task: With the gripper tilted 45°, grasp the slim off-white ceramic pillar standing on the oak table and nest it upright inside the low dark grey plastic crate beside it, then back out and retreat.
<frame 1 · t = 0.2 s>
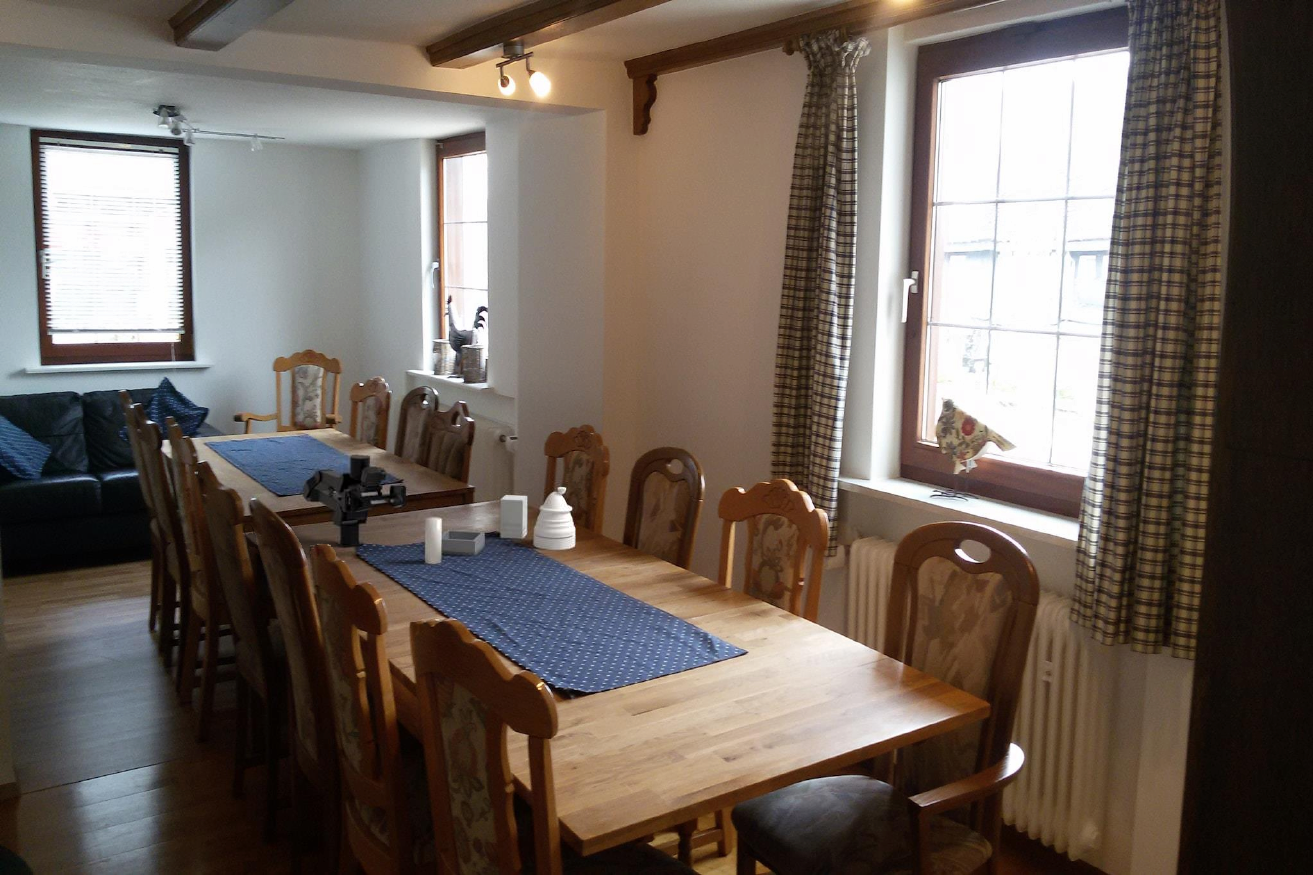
hand: (387, 504, 295), 17 cm above the table, tool horizontal, fingers open, 9 cm apart
honey pot: (554, 545, 326), on the table
supplement box: (513, 536, 335), on the table
grey crate: (460, 550, 315), on the table
ceramic pillar: (433, 561, 300), on the table
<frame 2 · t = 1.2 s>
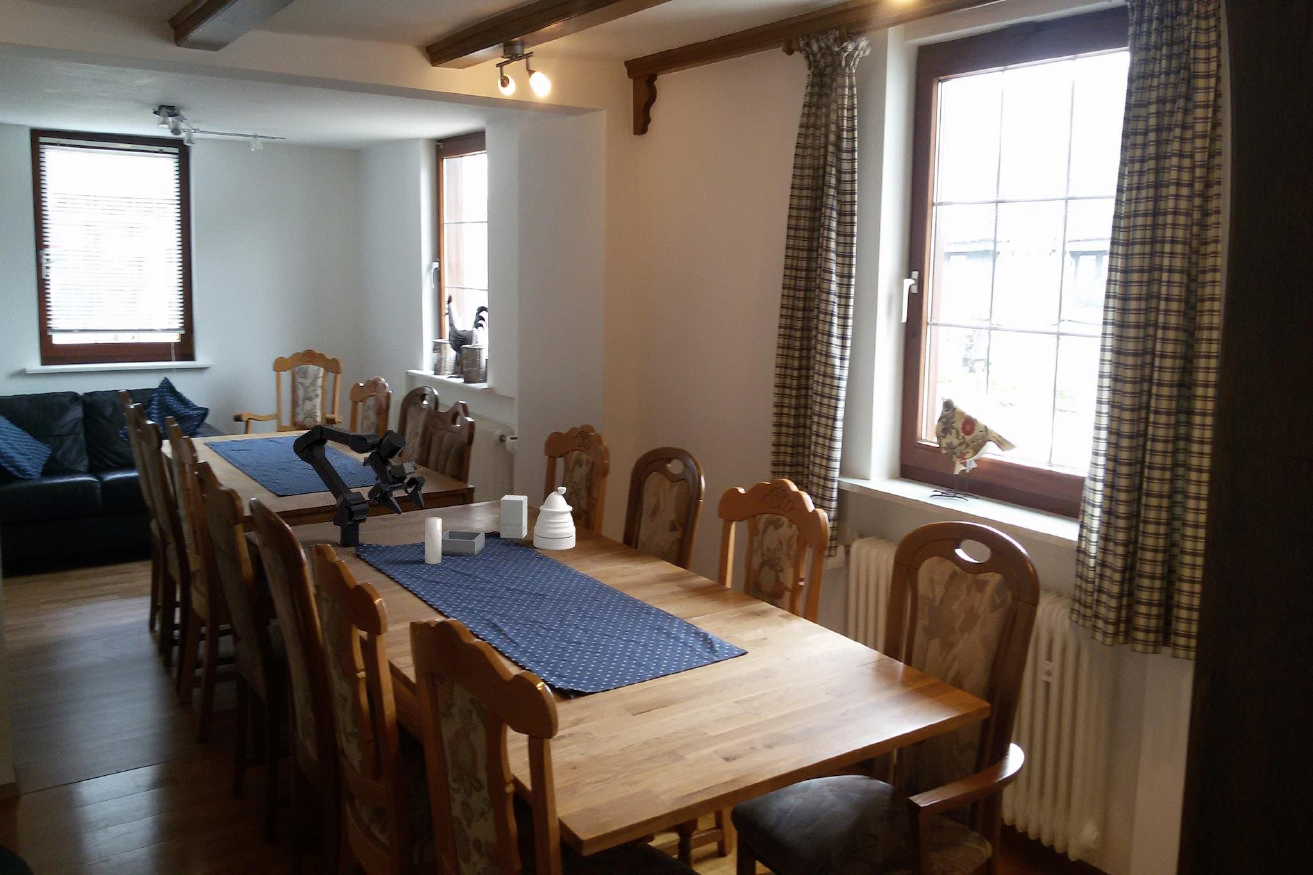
hand: (412, 511, 303), 14 cm above the table, tool tilted 45°, fingers open, 9 cm apart
nothing on the table moved.
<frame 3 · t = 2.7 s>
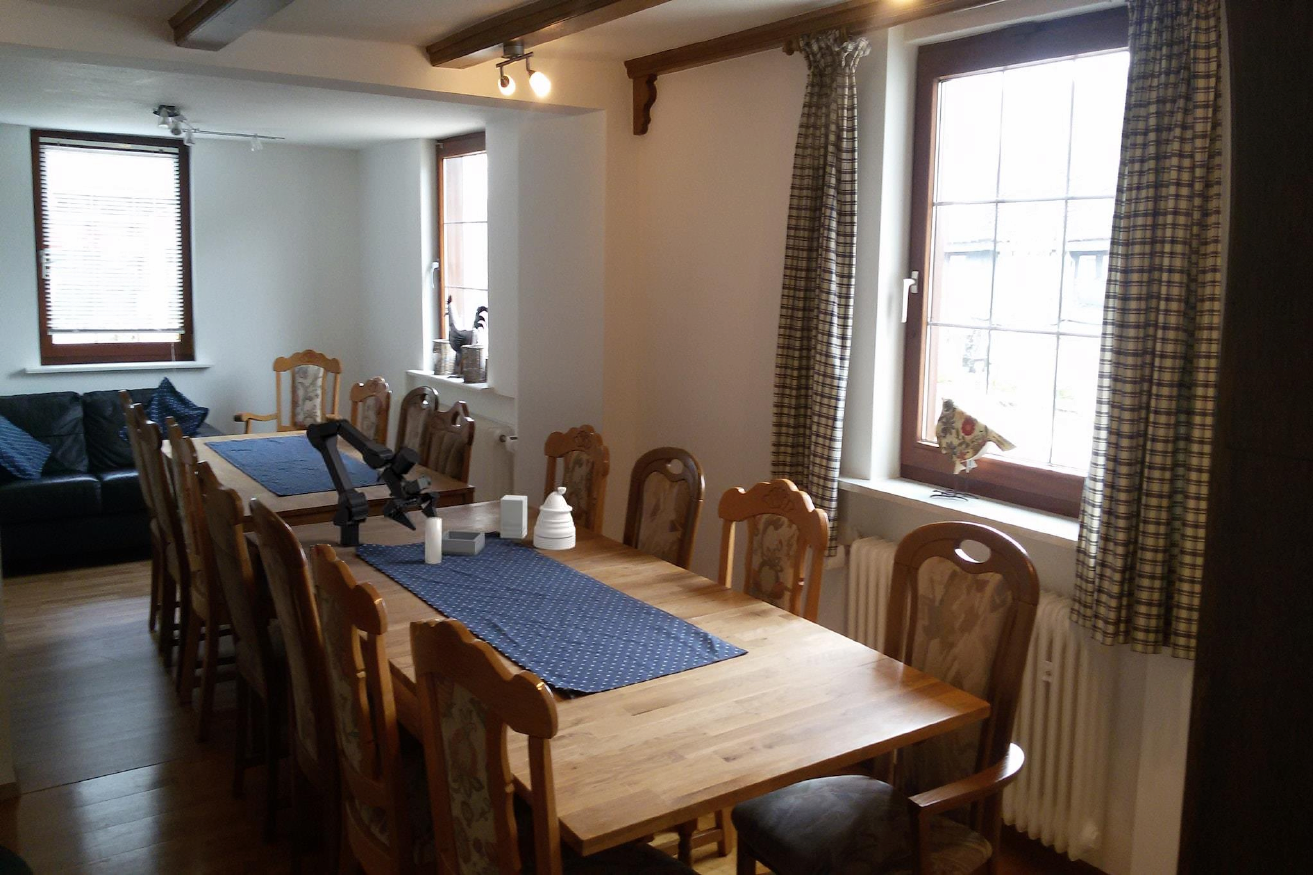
hand: (426, 527, 300), 10 cm above the table, tool tilted 45°, fingers open, 9 cm apart
nothing on the table moved.
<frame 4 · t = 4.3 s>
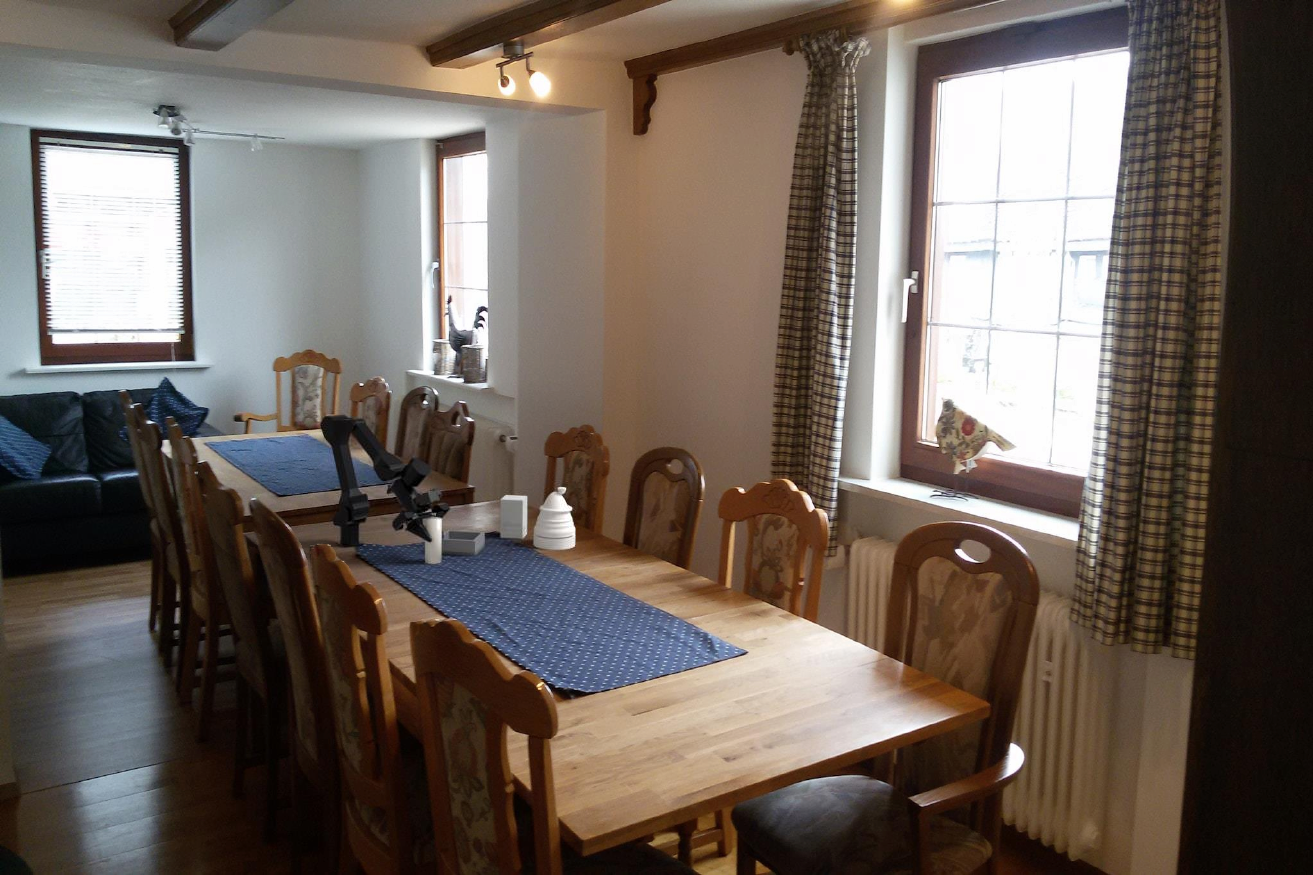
hand: (437, 540, 299), 7 cm above the table, tool tilted 45°, fingers closed on ceramic pillar, 5 cm apart
ceramic pillar: (433, 561, 300), on the table, touching gripper
everything else where it was.
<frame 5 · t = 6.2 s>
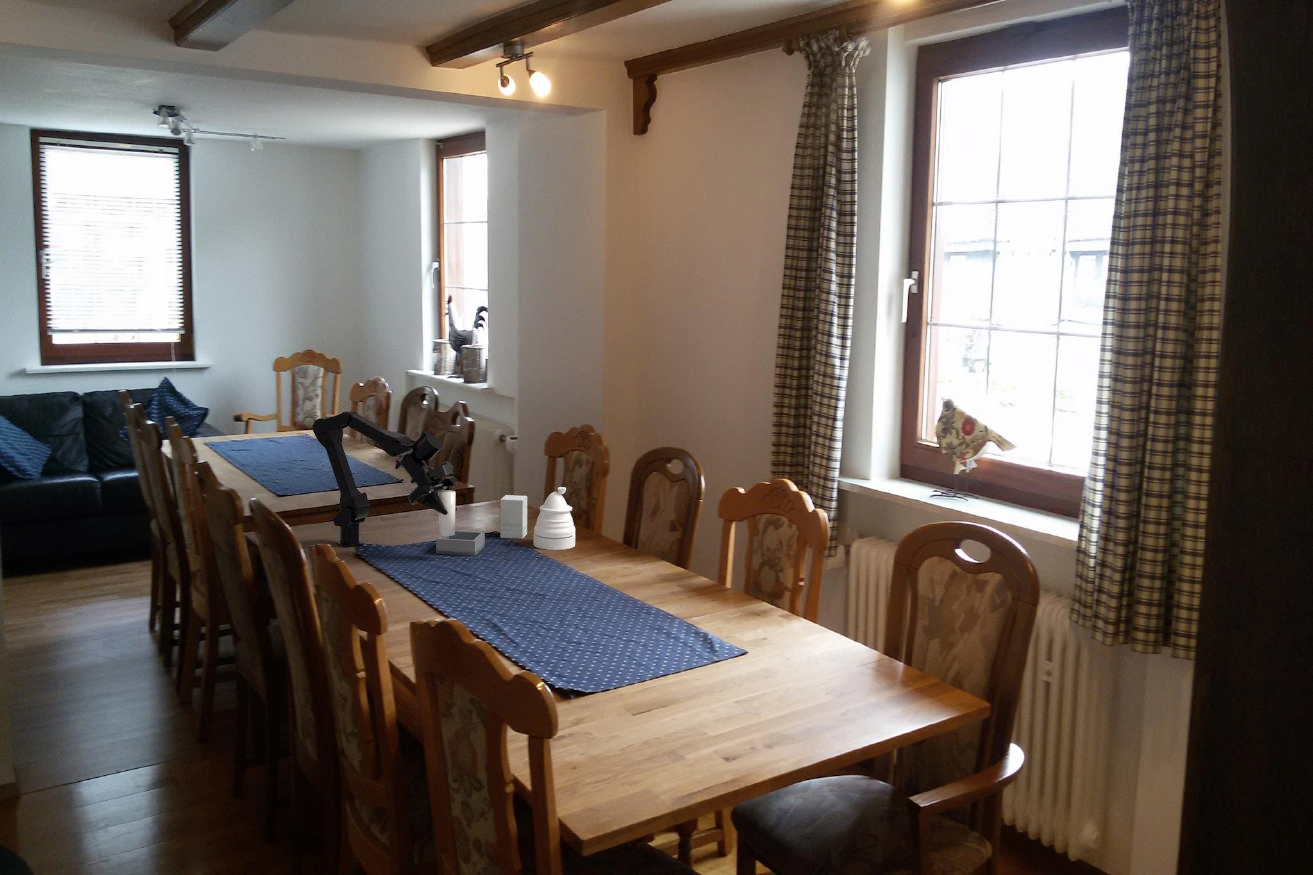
hand: (451, 512, 303), 13 cm above the table, tool tilted 45°, fingers closed on ceramic pillar, 5 cm apart
ceramic pillar: (446, 534, 305), point 7 cm above the table, touching gripper
everything else where it was.
when the fingers open (9 cm above the table, at t = 8.3 s): ceramic pillar drops 1 cm, resting on grey crate.
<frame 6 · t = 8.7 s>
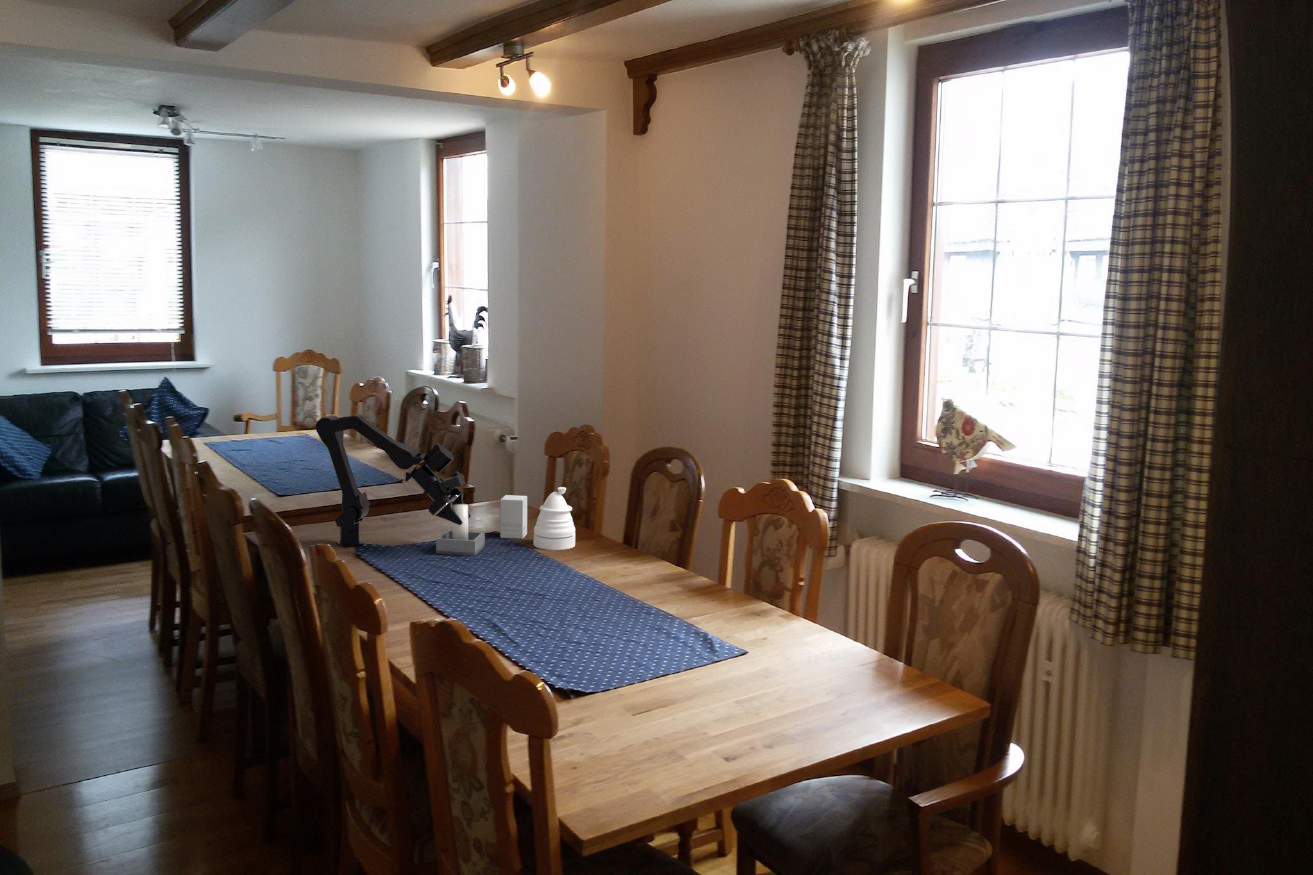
hand: (465, 520, 313), 9 cm above the table, tool tilted 45°, fingers open, 9 cm apart
ceramic pillar: (460, 546, 314), point 1 cm above the table, touching grey crate
everything else where it was.
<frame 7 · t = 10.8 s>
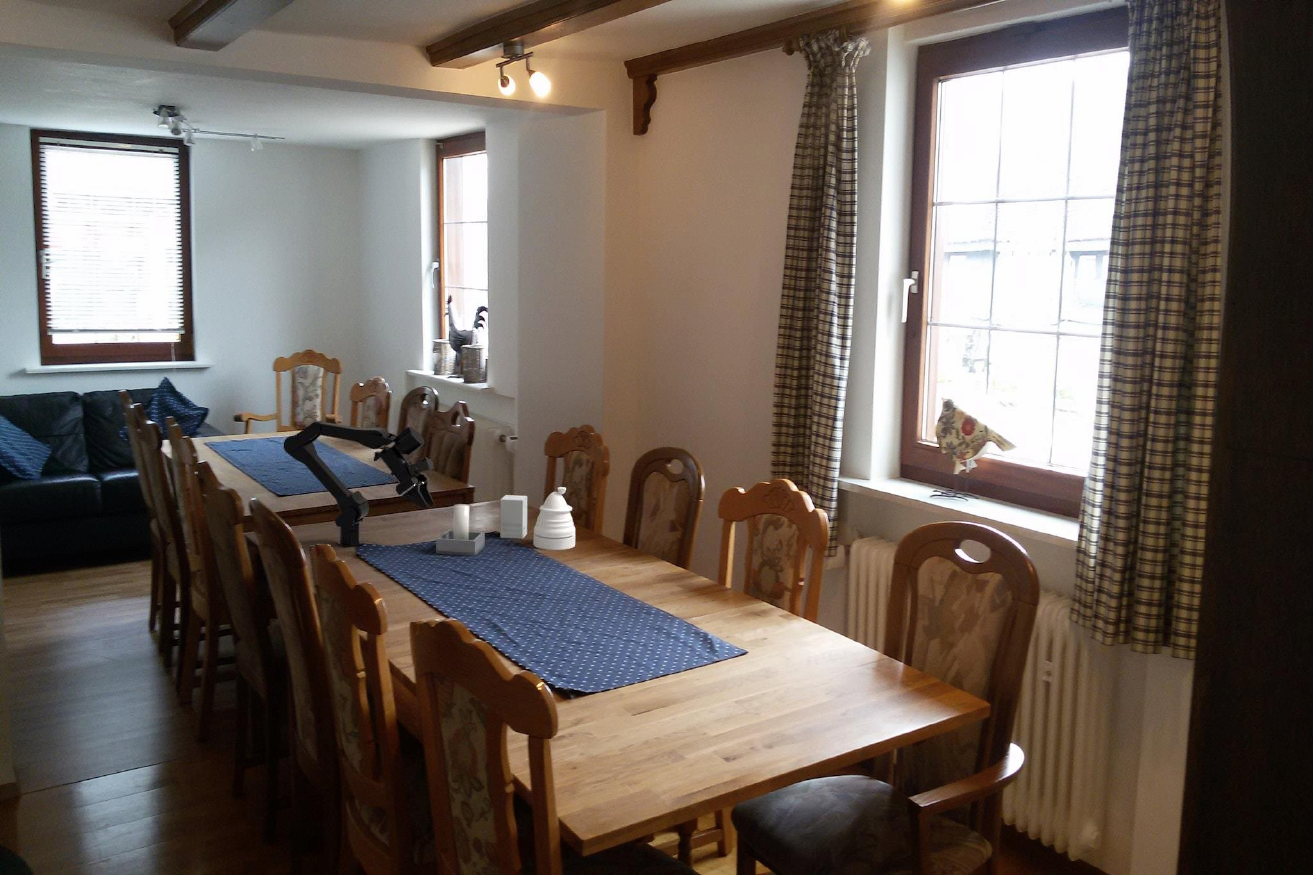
hand: (429, 506, 312), 13 cm above the table, tool tilted 40°, fingers open, 9 cm apart
nothing on the table moved.
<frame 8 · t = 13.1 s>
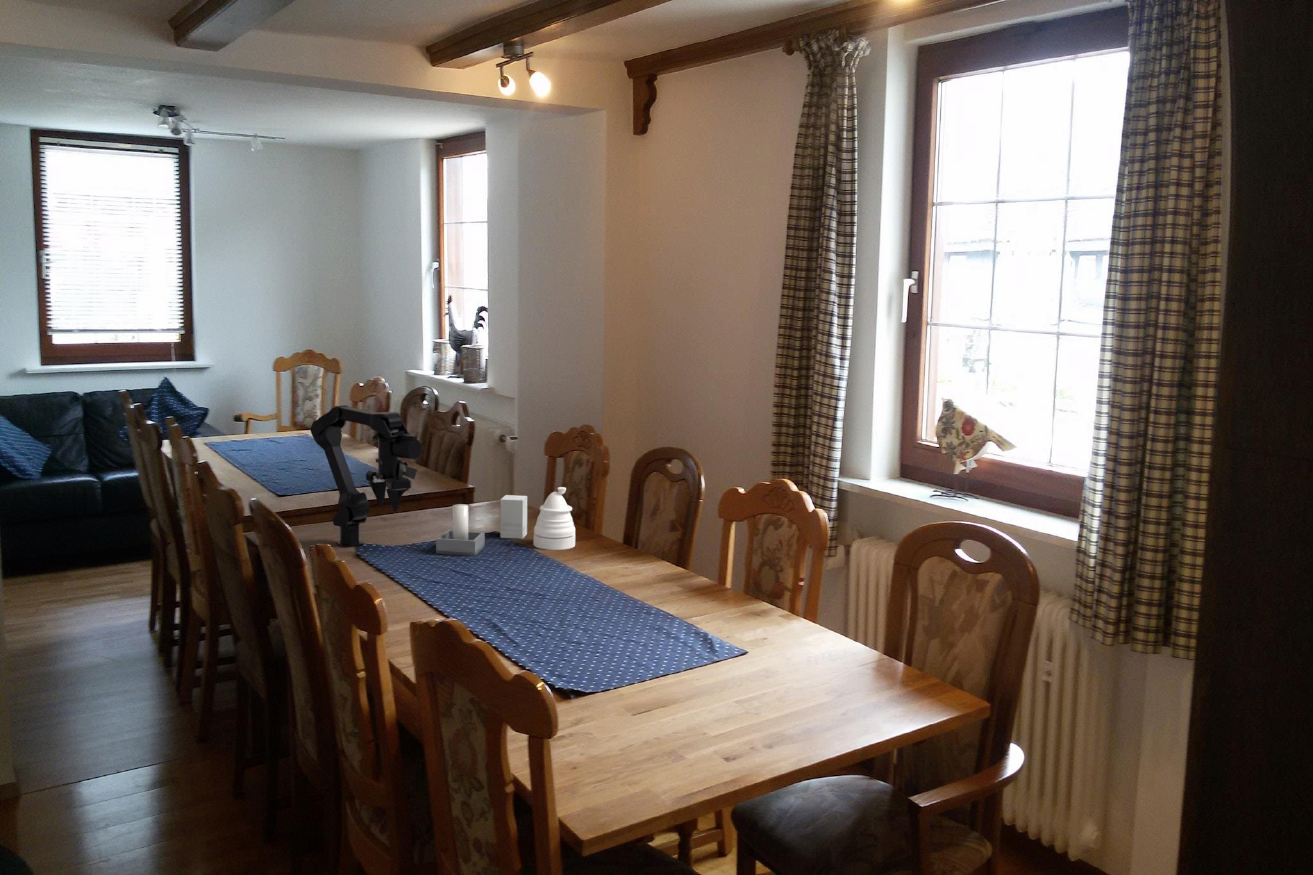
hand: (388, 508, 308), 13 cm above the table, tool pointing down, fingers open, 9 cm apart
nothing on the table moved.
at the end: ceramic pillar inside the target area on the grey crate (0.1 cm from its centre), point 1.0 cm above the grey crate's base; ceramic pillar tilted 1°; the gripper is holding nothing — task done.
